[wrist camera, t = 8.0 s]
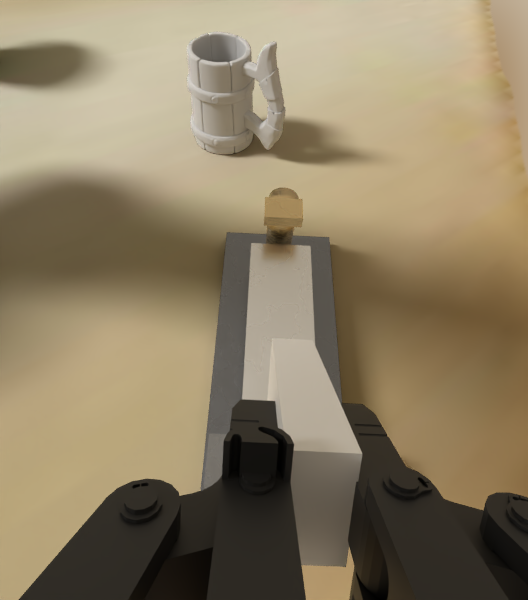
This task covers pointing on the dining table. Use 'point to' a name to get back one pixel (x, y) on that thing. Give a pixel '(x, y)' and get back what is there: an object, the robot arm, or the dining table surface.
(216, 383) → the base
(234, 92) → the mug
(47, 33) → the dining table surface
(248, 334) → the white flat bar
